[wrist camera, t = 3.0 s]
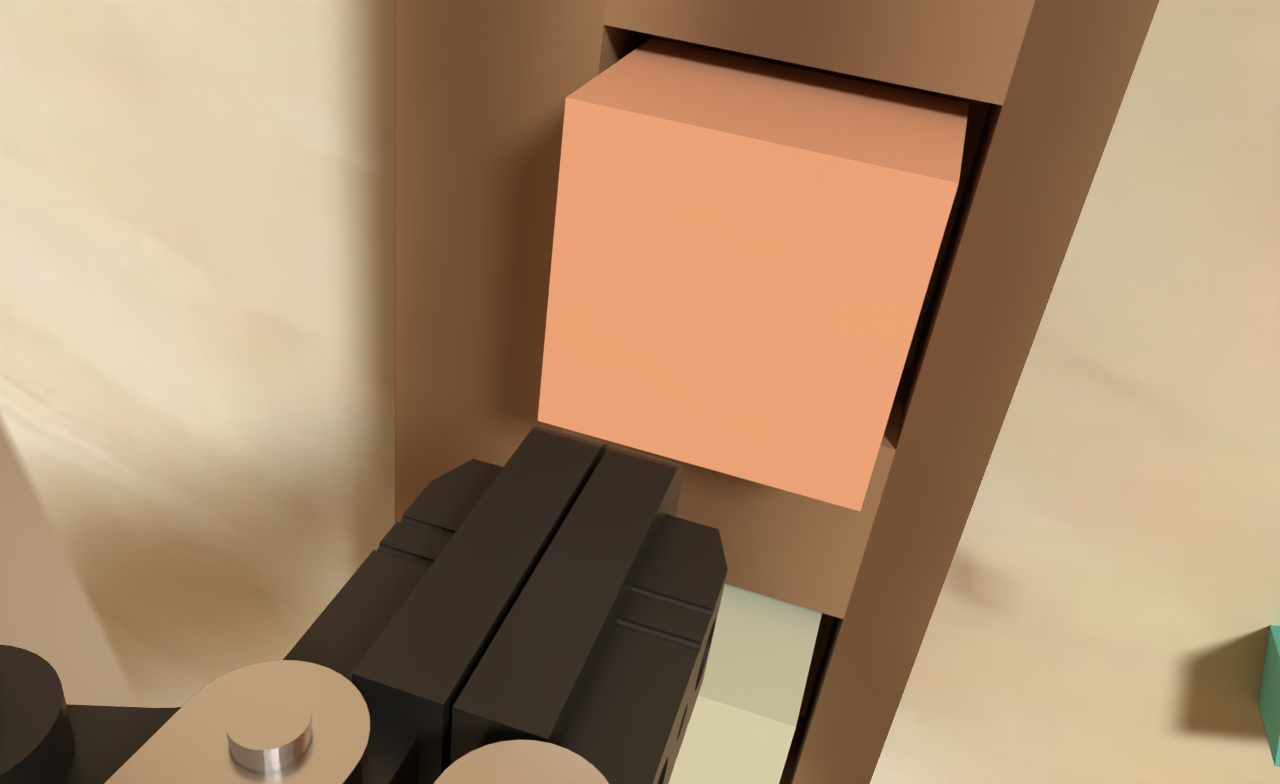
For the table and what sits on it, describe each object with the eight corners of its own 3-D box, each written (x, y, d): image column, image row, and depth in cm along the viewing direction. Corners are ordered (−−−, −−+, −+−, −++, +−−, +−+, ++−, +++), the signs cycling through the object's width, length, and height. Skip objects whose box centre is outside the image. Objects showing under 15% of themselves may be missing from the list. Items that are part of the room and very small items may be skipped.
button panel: (1475, -1030, 12) (1682, -1395, 8) (851, 759, 27) (827, 904, 24) (546, -1032, 14) (381, -1323, 10) (464, 632, 29) (389, 748, 26)
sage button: (828, 583, 22) (795, 727, 18) (779, 750, 24) (743, 901, 21) (591, 512, 23) (518, 637, 19) (569, 681, 25) (503, 815, 22)
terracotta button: (969, 103, 16) (959, 183, 13) (886, 385, 19) (860, 511, 16) (650, 38, 17) (565, 97, 14) (615, 316, 20) (537, 420, 17)
